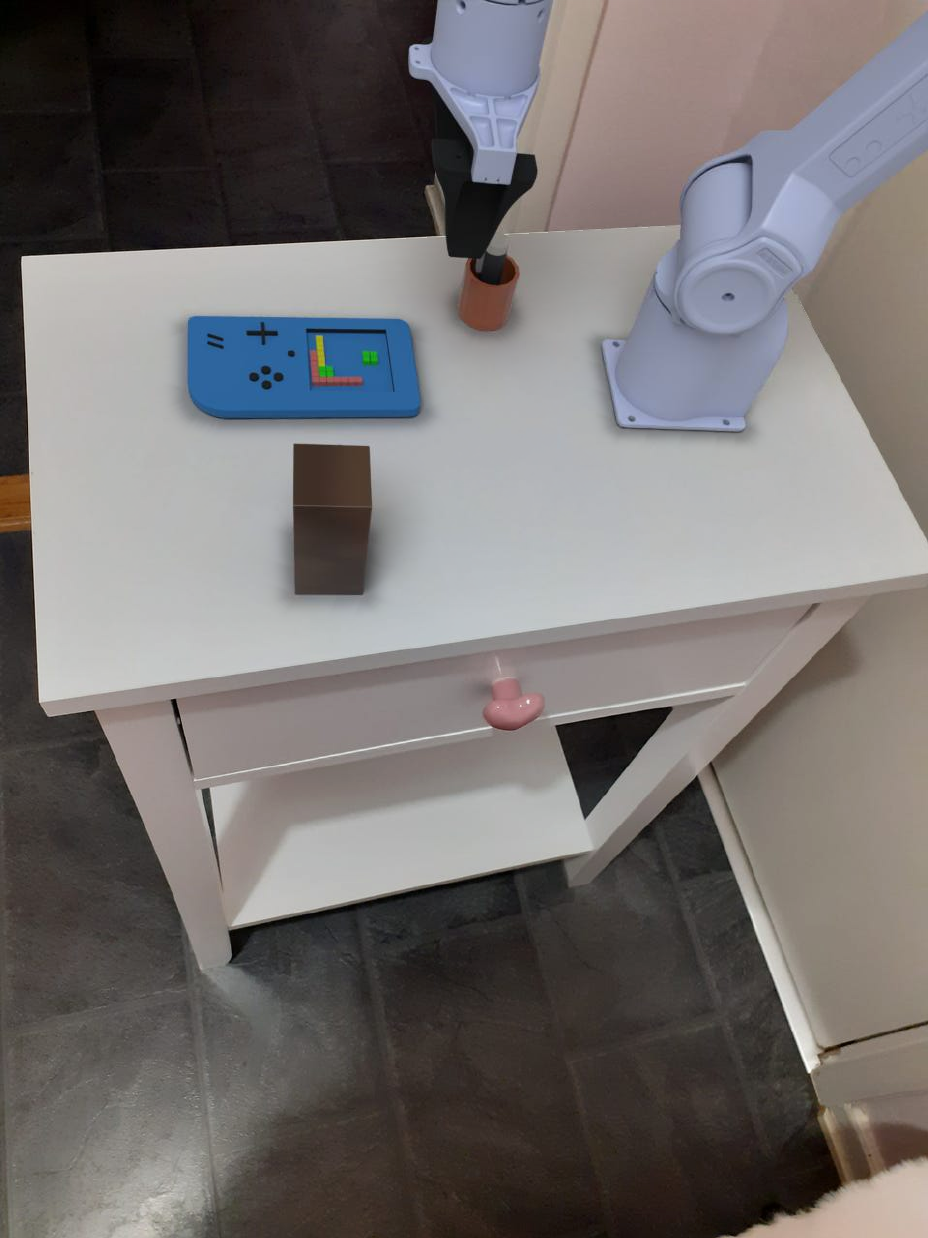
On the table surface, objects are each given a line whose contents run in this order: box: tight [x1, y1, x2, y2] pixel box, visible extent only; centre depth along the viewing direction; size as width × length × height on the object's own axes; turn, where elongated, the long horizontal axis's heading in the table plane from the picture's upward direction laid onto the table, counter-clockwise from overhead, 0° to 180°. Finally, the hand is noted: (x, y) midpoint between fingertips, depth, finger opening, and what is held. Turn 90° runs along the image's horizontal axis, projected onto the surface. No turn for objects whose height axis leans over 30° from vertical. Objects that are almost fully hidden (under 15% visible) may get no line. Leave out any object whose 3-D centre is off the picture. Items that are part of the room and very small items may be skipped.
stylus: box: [475, 231, 510, 285], centre depth 65 cm, size 2×2×6 cm
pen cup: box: [457, 254, 521, 332], centre depth 66 cm, size 4×4×4 cm
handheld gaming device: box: [187, 315, 422, 419], centre depth 62 cm, size 8×1×15 cm
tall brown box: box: [292, 443, 373, 596], centre depth 52 cm, size 4×4×9 cm
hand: (459, 210), depth 57 cm, fingers open, 7 cm apart
